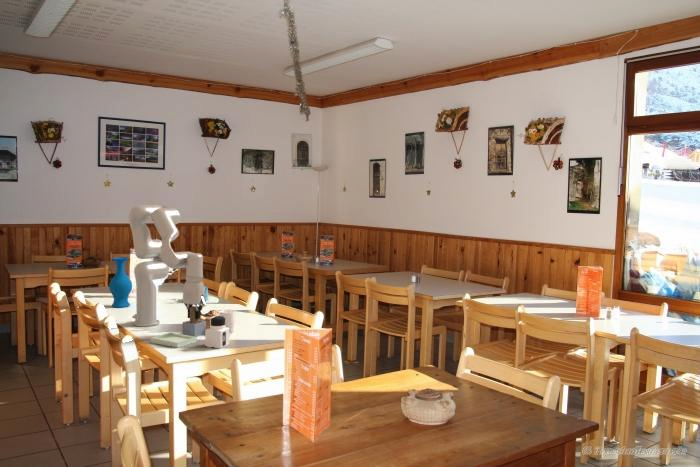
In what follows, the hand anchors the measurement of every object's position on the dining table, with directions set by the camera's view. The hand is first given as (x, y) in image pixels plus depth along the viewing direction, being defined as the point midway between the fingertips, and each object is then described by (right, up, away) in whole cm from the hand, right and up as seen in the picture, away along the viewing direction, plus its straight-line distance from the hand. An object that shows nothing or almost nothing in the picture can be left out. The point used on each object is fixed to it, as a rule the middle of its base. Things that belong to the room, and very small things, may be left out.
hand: (194, 317), depth 285 cm
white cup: (+14, -8, +8) cm, 18 cm away
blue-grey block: (0, -8, +1) cm, 8 cm away
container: (+15, -10, -19) cm, 27 cm away
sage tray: (-5, -9, -15) cm, 18 cm away
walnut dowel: (0, -8, +1) cm, 8 cm away
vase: (-59, -2, +64) cm, 87 cm away
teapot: (-21, -2, +85) cm, 87 cm away
